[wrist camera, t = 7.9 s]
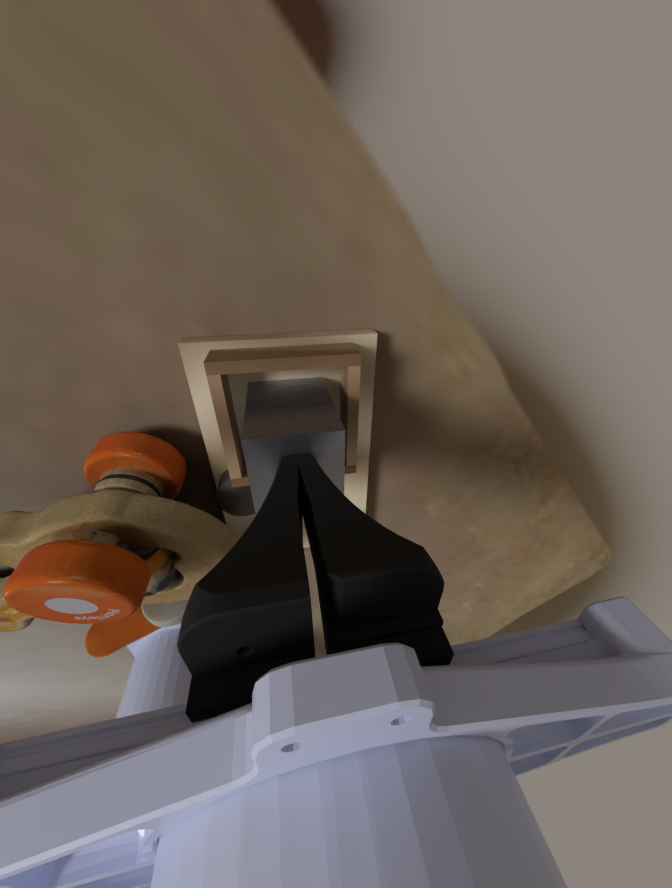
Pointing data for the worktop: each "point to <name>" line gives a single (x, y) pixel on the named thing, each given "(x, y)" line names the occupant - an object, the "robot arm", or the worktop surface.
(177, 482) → the toy helicopter
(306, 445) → the grey rectangular block
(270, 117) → the worktop surface
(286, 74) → the worktop surface
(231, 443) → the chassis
